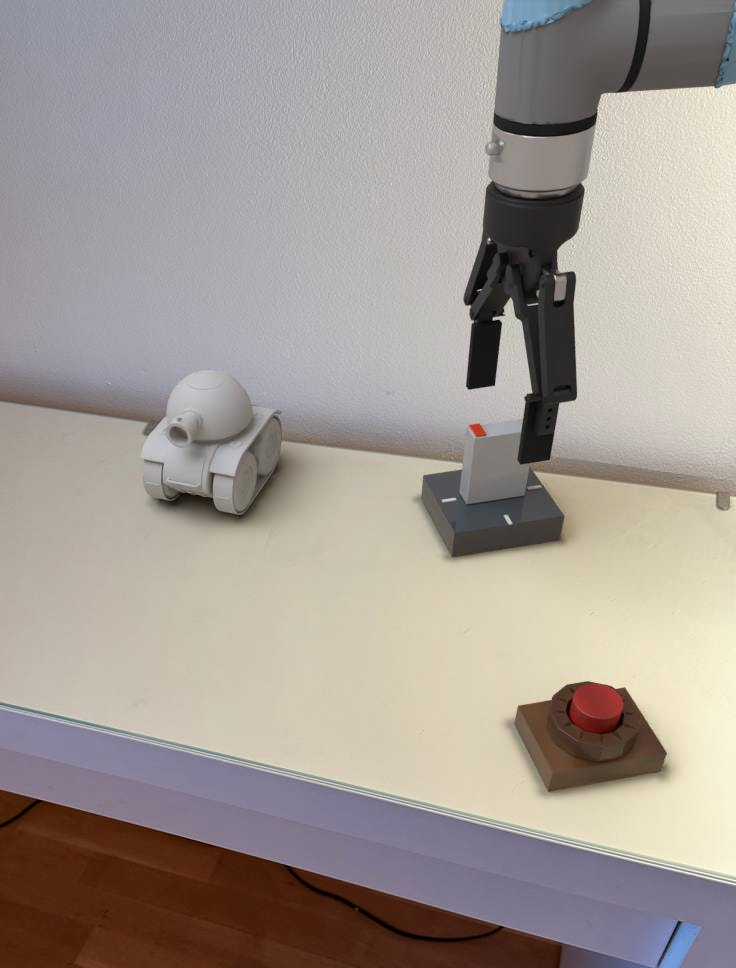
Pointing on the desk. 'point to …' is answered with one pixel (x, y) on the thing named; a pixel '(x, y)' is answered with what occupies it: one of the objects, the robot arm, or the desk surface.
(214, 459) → the toy tank
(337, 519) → the desk surface
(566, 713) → the button block
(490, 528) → the plate
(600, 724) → the button
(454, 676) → the desk surface
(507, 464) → the grey rectangular block
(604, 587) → the desk surface
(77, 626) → the desk surface
